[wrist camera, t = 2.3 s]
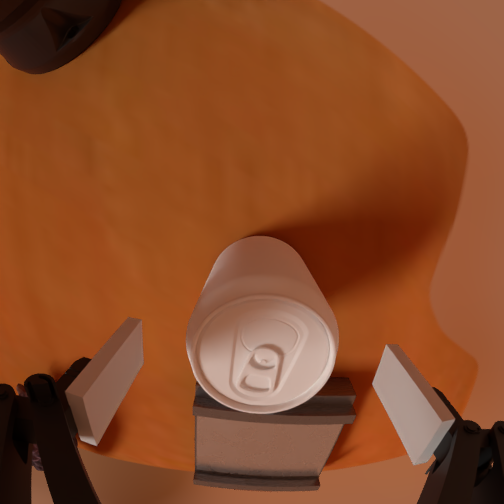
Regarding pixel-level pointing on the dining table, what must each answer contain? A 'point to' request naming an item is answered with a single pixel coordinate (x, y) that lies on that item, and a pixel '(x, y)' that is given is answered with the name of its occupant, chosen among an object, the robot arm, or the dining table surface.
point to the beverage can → (261, 329)
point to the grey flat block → (269, 441)
